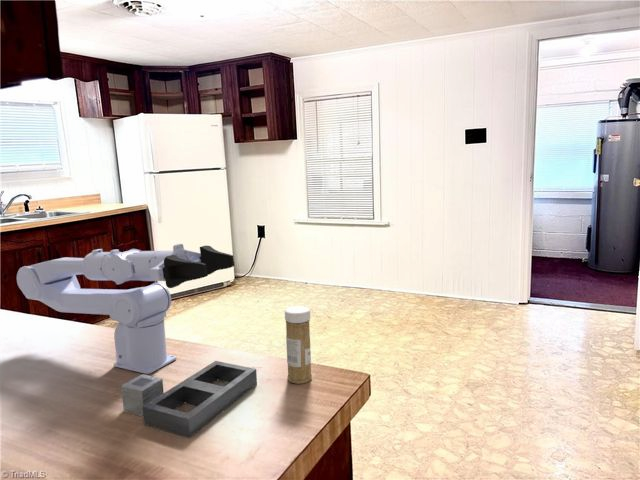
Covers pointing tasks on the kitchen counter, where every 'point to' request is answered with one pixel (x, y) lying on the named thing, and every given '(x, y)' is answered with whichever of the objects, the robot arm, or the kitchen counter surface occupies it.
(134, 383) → the gray block
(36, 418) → the kitchen counter surface
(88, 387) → the kitchen counter surface
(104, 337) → the kitchen counter surface
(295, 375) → the sprinkles bottle
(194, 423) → the grey rectangular tray
